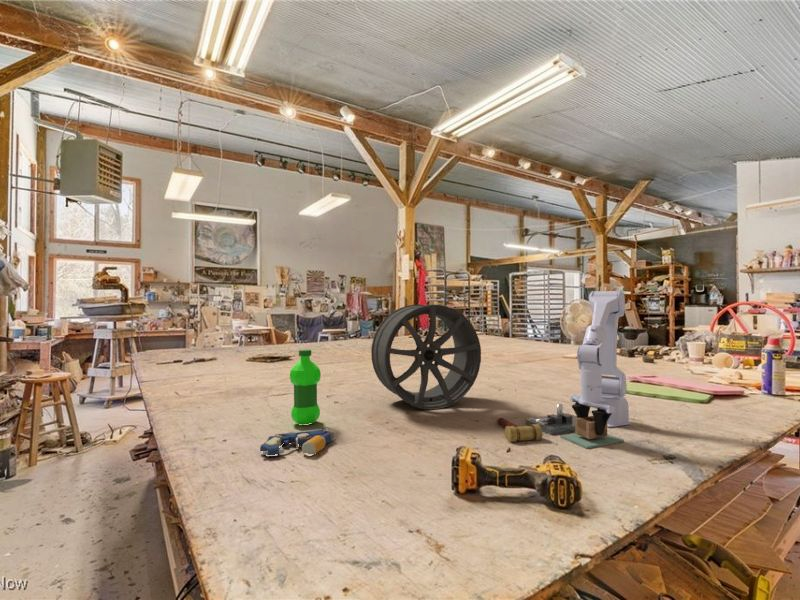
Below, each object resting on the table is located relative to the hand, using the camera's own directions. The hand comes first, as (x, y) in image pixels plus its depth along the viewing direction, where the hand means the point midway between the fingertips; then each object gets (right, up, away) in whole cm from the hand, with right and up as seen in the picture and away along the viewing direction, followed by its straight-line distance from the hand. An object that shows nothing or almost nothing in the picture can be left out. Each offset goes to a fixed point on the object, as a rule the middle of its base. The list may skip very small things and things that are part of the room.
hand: (591, 431), depth 119 cm
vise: (-4, -3, +13) cm, 14 cm away
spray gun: (-85, -4, -5) cm, 85 cm away
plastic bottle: (-89, -4, +19) cm, 90 cm away
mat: (0, -2, 0) cm, 2 cm away
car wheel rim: (-46, -3, +44) cm, 64 cm away
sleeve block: (0, -1, 0) cm, 1 cm away
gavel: (-21, -3, +9) cm, 23 cm away
